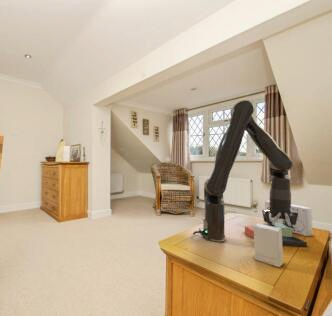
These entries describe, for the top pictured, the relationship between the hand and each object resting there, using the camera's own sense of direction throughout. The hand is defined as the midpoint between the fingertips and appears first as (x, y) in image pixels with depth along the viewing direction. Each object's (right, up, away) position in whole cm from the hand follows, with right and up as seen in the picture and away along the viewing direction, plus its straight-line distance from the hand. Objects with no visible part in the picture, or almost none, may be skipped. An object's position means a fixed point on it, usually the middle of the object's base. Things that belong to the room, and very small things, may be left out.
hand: (279, 232), depth 94 cm
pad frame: (+12, -8, +12) cm, 19 cm away
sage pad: (0, -1, 0) cm, 1 cm away
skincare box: (+29, -8, +25) cm, 40 cm away
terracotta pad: (+1, -8, +16) cm, 18 cm away
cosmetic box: (-16, -8, -11) cm, 21 cm away
